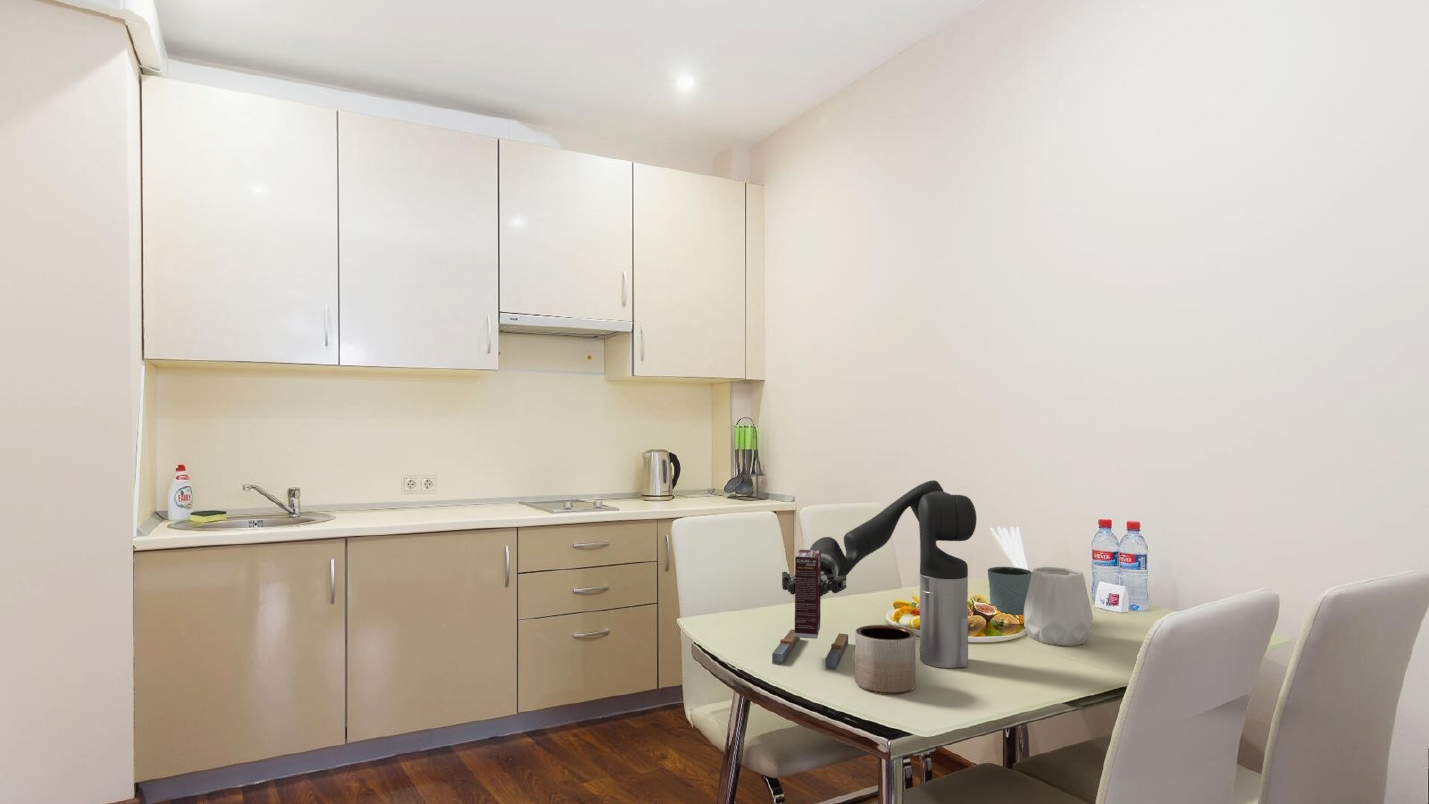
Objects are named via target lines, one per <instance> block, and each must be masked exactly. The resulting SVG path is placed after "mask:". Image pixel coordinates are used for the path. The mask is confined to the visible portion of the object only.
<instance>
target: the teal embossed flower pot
mask: <svg viewBox="0 0 1429 804" xmlns="http://www.w3.org/2000/svg"><path fill="white" fill-rule="evenodd" d="M1031 574H1032V571H1031V570H1028V569H1025V568H1022V567H1021V568H1020V567H1011V566H993V567H989V568H987V577H988V578H987V579H988V587H989V603H990V605H992V606H995V607H996V608H997V610H998V611H1000V612H1001V613H1005V614H1011V615H1023V614H1024V605H1025V600H1026V596H1027V592H1028V587H1029V583H1030V579H1031Z"/></svg>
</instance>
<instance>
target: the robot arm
mask: <svg viewBox="0 0 1429 804" xmlns="http://www.w3.org/2000/svg"><path fill="white" fill-rule="evenodd" d="M909 507H910V509H911V510H912V513H913V514H914V517H915V518H916V519H917V521H918V525H919V526H918V528H919V553H920V554H919V557H920V558H919V559H920V560H919V561H920V562H919V661H920V662H921V663H924V665H928V666H933V667H937V668H944V669H947V668H948V669H953V668H954V669H955V668H956V669H957V668H968V667H969V616H968V615H969V614H968V613H969V611H968V606H969V603H968V602H969V601H968V600H969V599H968V598H969V596H968V595H969V593H968V590H969V589H968V588H969V587H968V586H969V584H968V583H969V581H968V580H969V578H968V577H969V566H968V563H967V562H966V561H965V560H964V559H962V558H960V557H957V556H954V555H952V554H949V553H947V552H946V551H944V550H943V549H940V547H938V546H937V541H940V542H942V541H943V542H963V541H964V542H965V541H967V540H970V538H972V536H973V535H974V533H975V531H976V527H977V511H976V507H975V505H974V503H973V501H972V500H971V499H970V498H969V497H968V496H966V495H963V494H950V493H948V492H945V491H944V489H943V487H942V485H941V484H940V483H939V481H937V480H932V479H931V480H929V481H925V482H922V483H920V484H919V485H917V486H915V487H913V488H912V489H910V490H909V491H907V492H906V493H904V494H903V495H901V496H900V497H899V498H898V499H896V500H895V501H894V502H892V503H891V504H889V505H888V506H886V507H885V508H884V509H883V510H882V511H880V512H879V513H878V514H876V515H875V516H874V517H872V518H871V519H869V520H867V521H865V522H864V523H862V524H860V525H858V526H856V527H855V528H853V529H851V530H849V531H848V532H846V533H845V534H844V536H843V545H844V549H845V554H844V552H843V550H842V548H841V545H839V543H838V541H837V540H836V539H835V538H833V537H831V536H825V537H824V536H823V537H821V538H819V539H817V540H816V541H814V542H813V543H812V545H810V546H811V547H810V549H809V550H818V551H821V583H820V584H819V596H821V597H823V596H825V595H827V594H829V593H830V592H832V593H833V594H839V593H840V592H842V591H844V590H845V589H847V576H848V574H849V573H850V572H851V571H852V570H853V569H854V568H855V566H857V564H859V563H860V562H861V560H863V559H864V558H866V557H868V556H869V555H871V554H872V553H874V552H876V551H877V550H880V549H881V548H883V547H884V546H885V545H886V544H887V543H888V541H890V539H891V537H892V535H893V534H894V531H895V529H896V527H897V524H898V523H899V520H900V519H901V517H902V515H903V514H904V513H905V511H906V510H907V509H908V508H909ZM781 588H782V590H783V591H787V592H788V593H790V595H795V574H794V575H791V574H790V573H789V572H787V571H782V572H781Z"/></svg>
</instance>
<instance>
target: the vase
mask: <svg viewBox="0 0 1429 804" xmlns="http://www.w3.org/2000/svg"><path fill="white" fill-rule="evenodd" d="M1031 572H1032V574H1031V579H1030V583H1029V587H1028V592H1027V596H1026V600H1025V605H1024V624H1023V625H1024V629H1025V631H1026V633H1027V635H1028V636H1029V637H1030V638H1031V639H1033V640H1035V641H1037V642H1039V641H1040V642H1039V643H1042V644H1045V645H1051V644H1055V645H1054V646H1059V645H1062V646H1061V647H1072V646H1071V645H1076V646H1082V645H1083V644H1085V643H1086V642H1087V640H1088V639H1089V638H1090V635H1091V629H1092V622H1093V618H1094V617H1093V616H1094V615H1093V610H1092V606H1091V603H1090V598H1089V594H1088V590H1087V585H1086V580H1085V576H1084V573H1083V572H1081V571H1080V570H1078V569H1074V568H1067V567H1066V568H1065V567H1057V566H1040V567H1035V568H1034V569H1033V570H1032V571H1031ZM1081 644H1082V645H1081Z"/></svg>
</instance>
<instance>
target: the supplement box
mask: <svg viewBox="0 0 1429 804" xmlns="http://www.w3.org/2000/svg"><path fill="white" fill-rule="evenodd" d="M794 558H795V559H794V560H795V561H794V563H795V564H794V566H795V567H794V575H795V594H794V630H795V631H794V636H795V637H799V638H800V639H818V638H819V637H818V636H819V632H820V629H821V604H822V603H821V602H822V601H821V598H822V596H819V584H820V583H821V551H818V550H810V549H799V550H798V552H797V554H796V555H795V557H794Z"/></svg>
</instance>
